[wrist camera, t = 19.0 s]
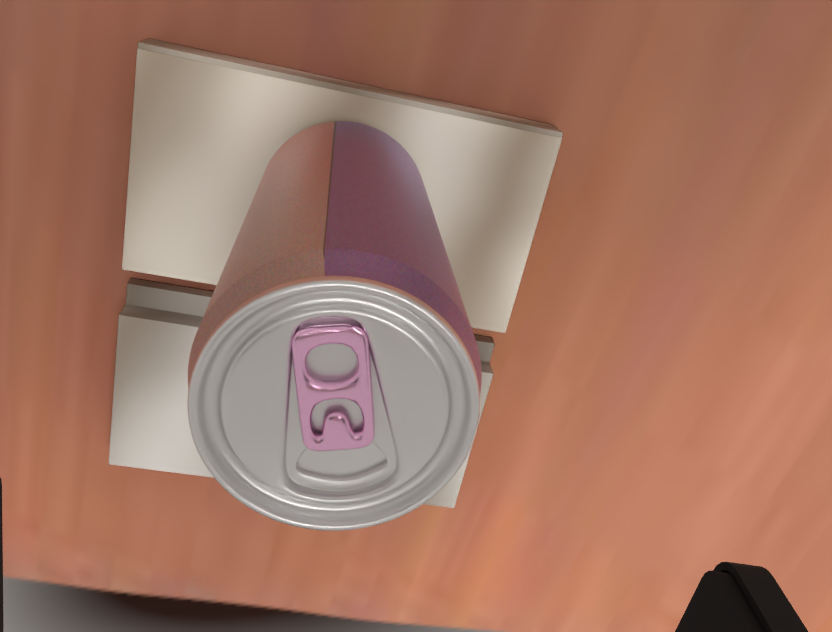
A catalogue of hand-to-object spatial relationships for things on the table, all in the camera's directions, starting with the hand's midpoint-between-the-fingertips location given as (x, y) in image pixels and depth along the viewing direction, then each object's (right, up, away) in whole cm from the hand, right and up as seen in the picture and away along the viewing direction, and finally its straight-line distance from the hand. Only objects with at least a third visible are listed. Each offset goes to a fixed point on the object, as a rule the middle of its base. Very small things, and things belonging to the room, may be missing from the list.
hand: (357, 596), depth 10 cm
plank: (-2, +9, +20) cm, 21 cm away
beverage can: (-2, +8, +18) cm, 20 cm away
